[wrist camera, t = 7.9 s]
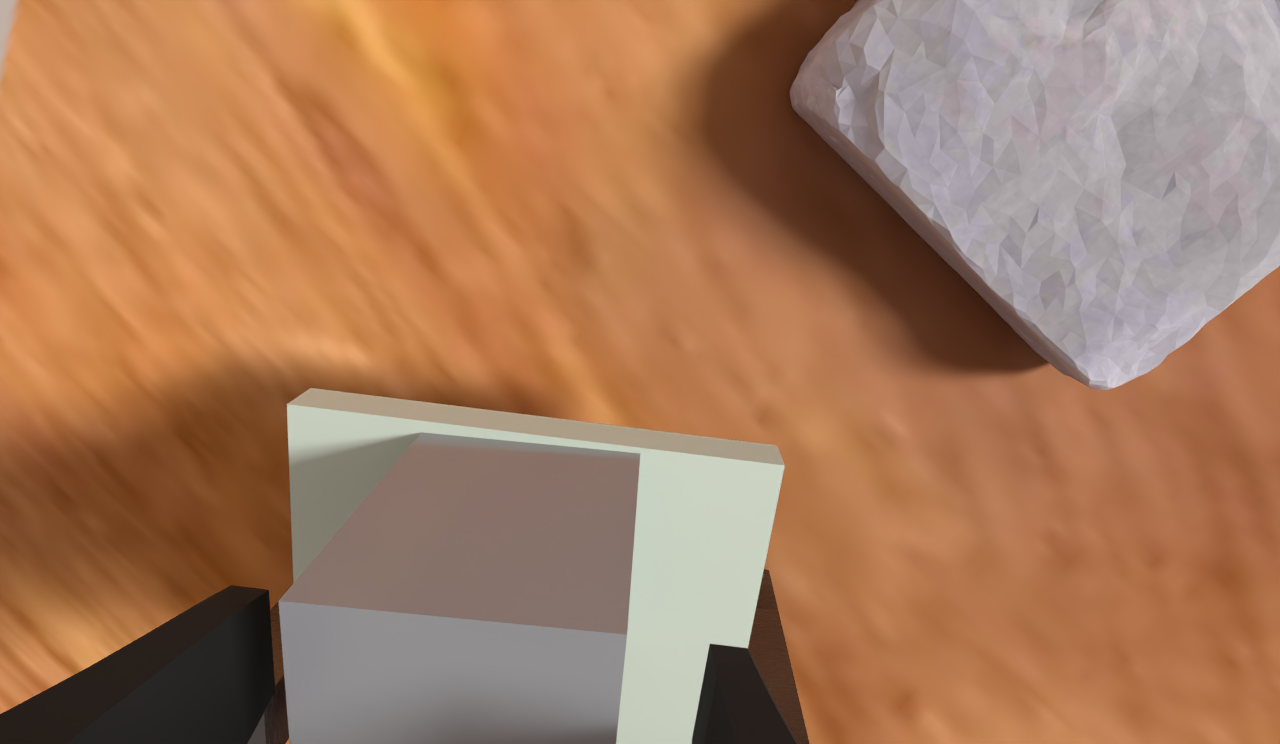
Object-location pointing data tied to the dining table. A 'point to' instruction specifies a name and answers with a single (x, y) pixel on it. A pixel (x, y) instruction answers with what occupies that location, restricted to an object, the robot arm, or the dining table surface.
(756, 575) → the trapdoor
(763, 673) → the frame
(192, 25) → the dining table surface
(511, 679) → the grey rectangular block
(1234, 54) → the stone block
